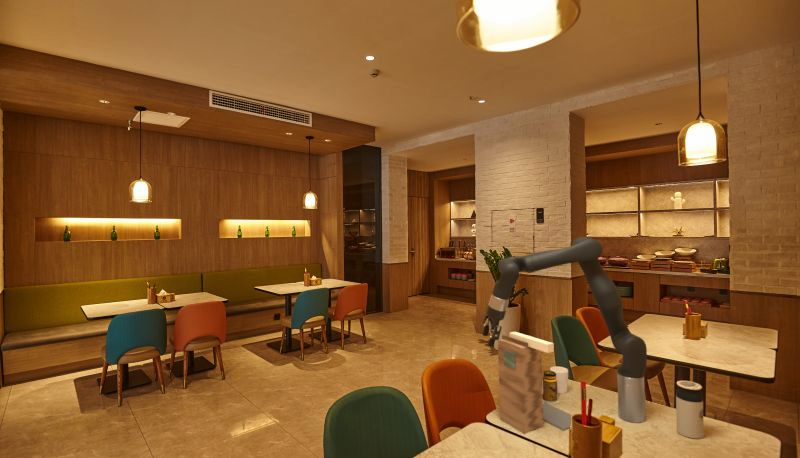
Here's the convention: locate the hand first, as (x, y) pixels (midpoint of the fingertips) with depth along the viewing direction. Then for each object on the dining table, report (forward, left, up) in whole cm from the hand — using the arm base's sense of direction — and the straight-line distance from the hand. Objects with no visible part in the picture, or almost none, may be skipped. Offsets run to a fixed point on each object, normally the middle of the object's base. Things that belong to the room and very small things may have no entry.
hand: (487, 340), depth 168 cm
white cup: (-40, +2, -30) cm, 50 cm away
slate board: (-18, +18, -29) cm, 39 cm away
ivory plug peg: (-3, +21, +3) cm, 21 cm away
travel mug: (-49, +52, -30) cm, 78 cm away
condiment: (-29, +5, -30) cm, 42 cm away
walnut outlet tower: (-3, +15, -29) cm, 33 cm away
